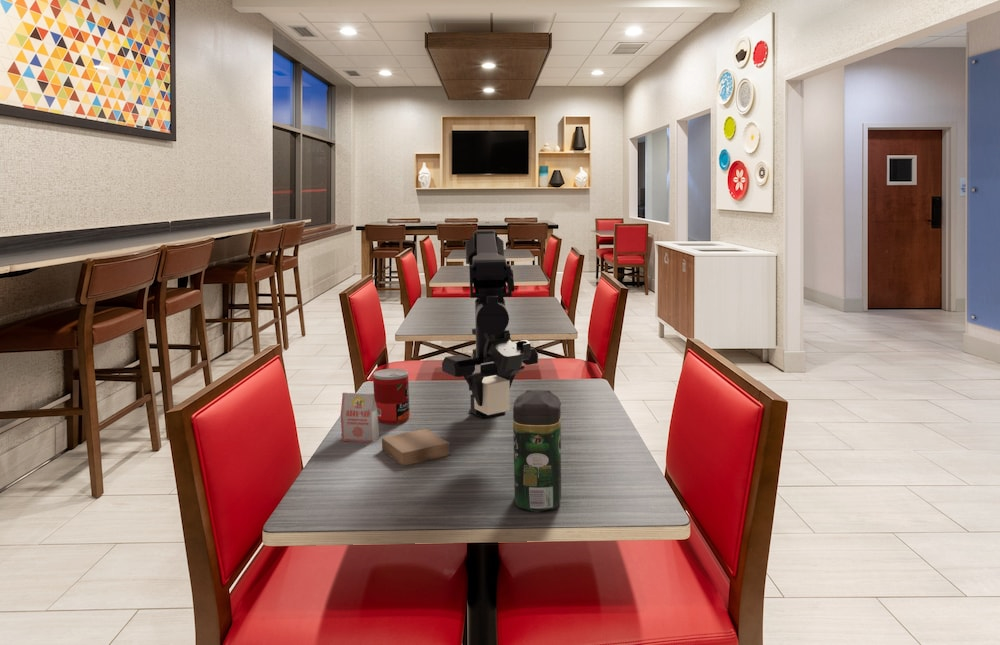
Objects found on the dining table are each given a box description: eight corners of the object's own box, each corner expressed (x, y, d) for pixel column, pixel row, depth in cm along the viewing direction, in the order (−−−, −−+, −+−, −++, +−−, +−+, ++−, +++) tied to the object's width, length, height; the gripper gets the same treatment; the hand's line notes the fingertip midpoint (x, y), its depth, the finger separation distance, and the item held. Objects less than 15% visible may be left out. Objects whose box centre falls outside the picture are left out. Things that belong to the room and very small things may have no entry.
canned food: (403, 425, 158) (401, 377, 156) (369, 423, 159) (367, 376, 157) (414, 414, 165) (412, 369, 163) (382, 413, 167) (380, 367, 164)
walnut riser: (426, 442, 148) (426, 428, 147) (449, 457, 140) (448, 442, 139) (382, 451, 143) (381, 437, 142) (402, 467, 135) (402, 453, 134)
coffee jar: (516, 488, 124) (515, 385, 120) (562, 489, 123) (562, 386, 119) (511, 512, 114) (509, 402, 111) (560, 514, 113) (560, 403, 110)
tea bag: (348, 435, 152) (346, 390, 150) (378, 436, 151) (376, 391, 149) (342, 440, 148) (339, 395, 146) (372, 442, 147) (370, 396, 145)
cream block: (495, 404, 141) (495, 375, 140) (509, 410, 137) (509, 380, 136) (474, 408, 138) (473, 378, 137) (487, 415, 134) (487, 384, 133)
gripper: (469, 337, 123) (471, 423, 126) (555, 325, 133) (555, 405, 136) (439, 327, 132) (441, 407, 135) (521, 316, 142) (522, 391, 145)
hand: (491, 403), depth 137 cm, fingers closed on cream block, 5 cm apart
